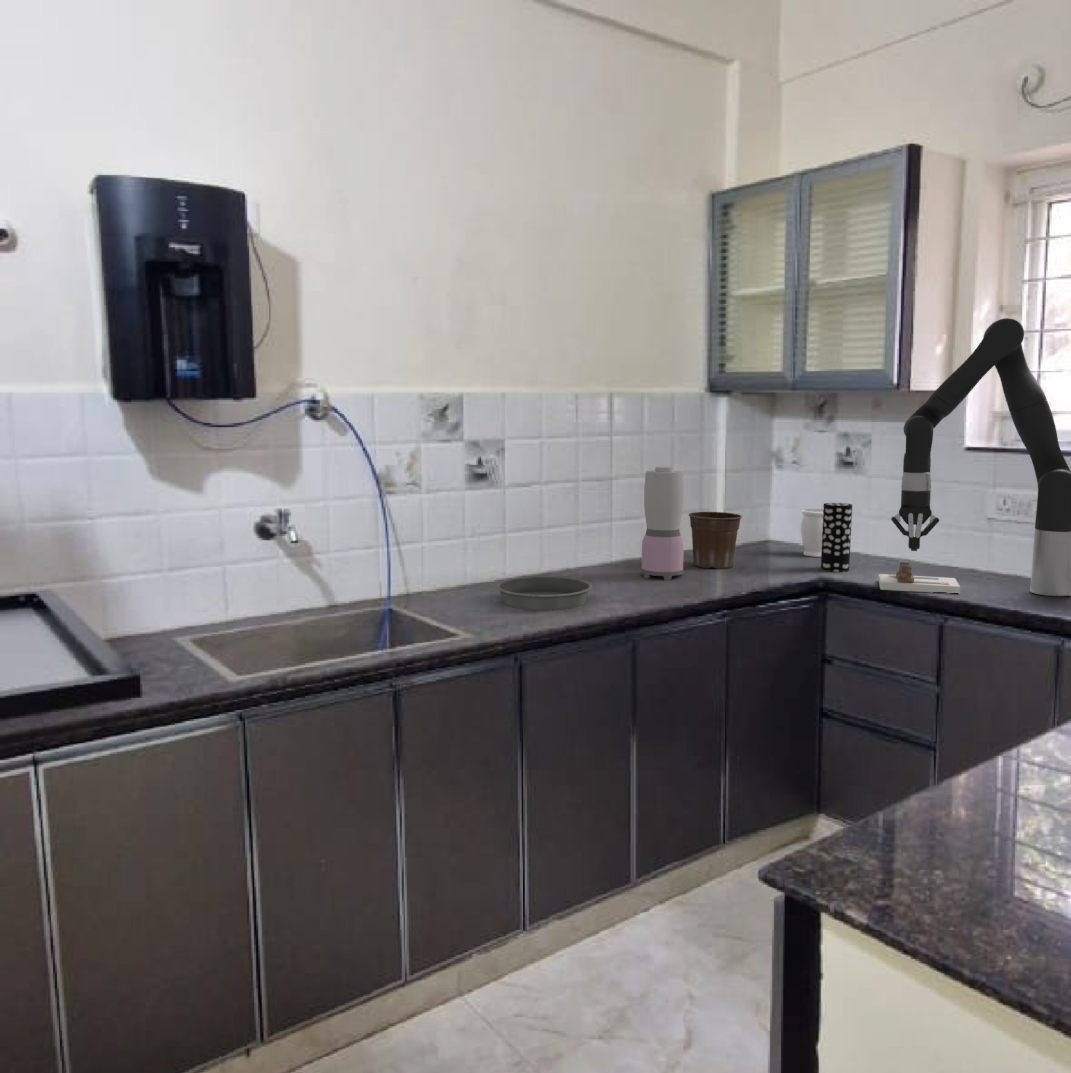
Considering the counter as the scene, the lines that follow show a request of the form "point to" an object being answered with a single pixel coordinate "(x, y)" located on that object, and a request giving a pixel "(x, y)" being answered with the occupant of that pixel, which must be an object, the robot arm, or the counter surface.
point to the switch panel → (919, 584)
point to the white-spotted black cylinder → (836, 537)
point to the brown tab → (905, 574)
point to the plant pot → (714, 538)
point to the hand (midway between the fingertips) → (913, 550)
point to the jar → (812, 532)
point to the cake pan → (544, 592)
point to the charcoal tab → (900, 567)
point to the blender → (663, 523)
